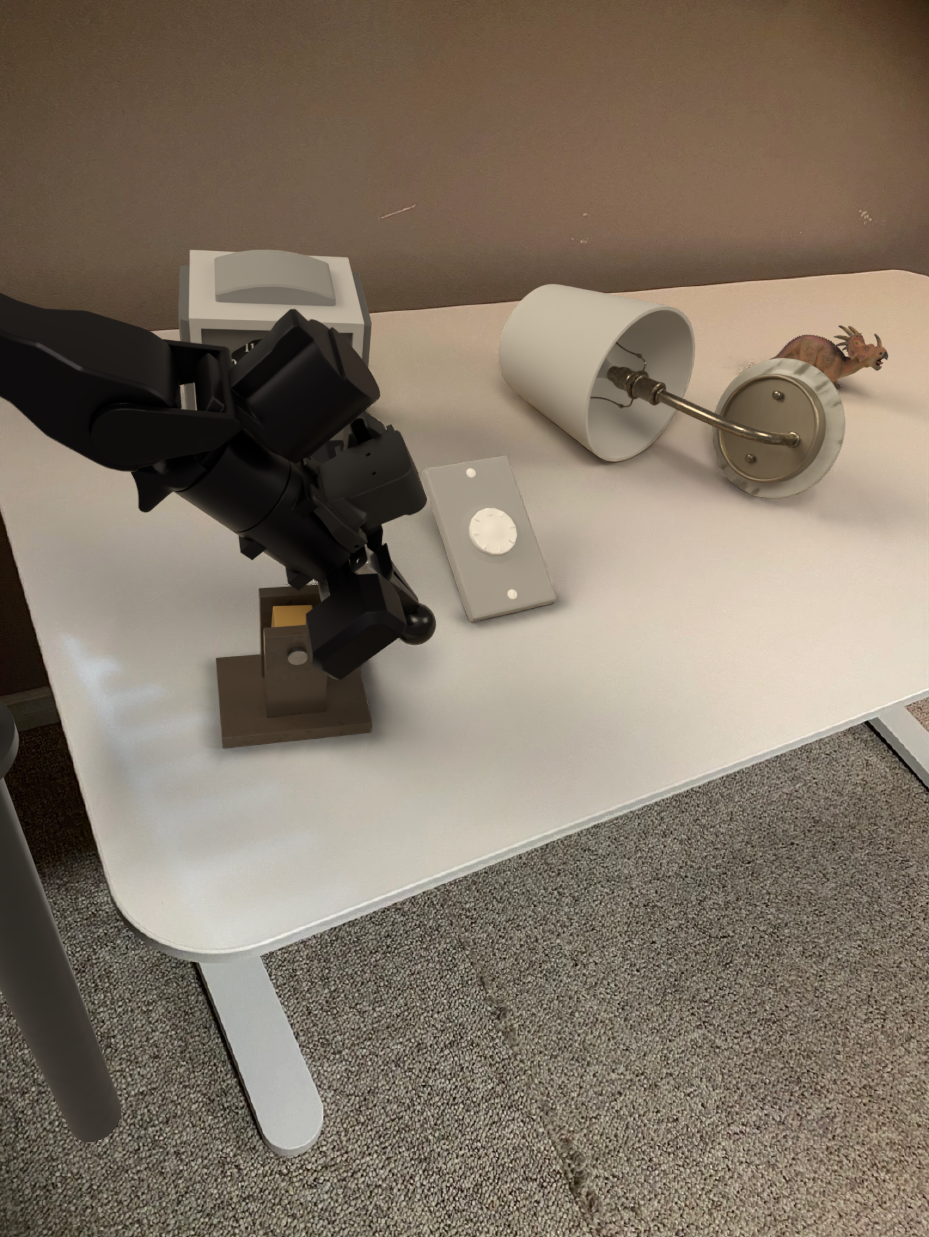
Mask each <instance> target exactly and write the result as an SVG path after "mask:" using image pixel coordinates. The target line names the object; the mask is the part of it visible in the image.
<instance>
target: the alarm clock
mask: <svg viewBox="0 0 929 1237" xmlns="http://www.w3.org/2000/svg"><path fill="white" fill-rule="evenodd" d="M178 274H179V276H178V305H177V308H178V311H177V320H178V331H179V341H183V342H192V343H200V344H208V345H216V346H224V347H227V348H229V349H230V351H231V357H232V364H234V365H235V364H236V363H237V362H238V361H239V360H240V359H241V358H243V357H244V356H245V355H246V354H247V353H248V352H249V351H250V350H251V349H252V348H254V347H255V346H256V345H257V344H258V343H259V342H260V341H261V340H262V339H263V338H264V337H266V336H267V334H268V333H269V332H270V331H271V329H272V328H273V326H274V325H275V323H276V322H277V321H278V320H279V319H280V318H281V317H282V316H283V315H284V314H285V313H287V312H288V311H289V310H290V309H296V310H297V311H298V312H299V313H300V314H301V315H303V316H304V317H305V318H306V319H307V320H310V319H314V320H317V321H319V322H321V323H323V324H324V325H325V326H327V327H328V328H329V329H330V328H331V327H333V328H334V329H335V330H336V331H338V332H339V333H340V334H341V335H342V336H343V337H344V338H345V339H346V341H347V342H348V343H349V344H350V345H351V346H352V347H353V348H354V350H355V351H356V352H357V353H358V355H359V356H360V357H361V358H362V360H363V361H364V363H365V364H366V365H367V367H368V368H369V367H370V366H369V365H370V354H371V352H370V351H371V338H372V337H371V336H372V324H373V322H372V319H371V315H370V311H369V308H368V303H367V300H366V295H365V291H364V288H363V284H362V279H361V276H360V272H352V268H351V264H350V260H349V257H345V256H344V257H343V256H325V255H324V256H323V255H306V254H301V253H299V252H298V253H297V252H294V251H288V250H287V251H286V250H278V249H249V250H243V251H223V250H222V251H221V250H220V251H219V250H201V249H189V264H187V265H186V264H179V272H178ZM181 405H182V409H187V410H197V408H196V396H195V384H194V383H190V384H185V385H183V393H181ZM343 434H344V429H342V430H341V431H340V432H339V433H338V434H336V435H335V436H334V437H333V438H332V439H330V440H343Z"/></svg>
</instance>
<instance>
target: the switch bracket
mask: <svg viewBox="0 0 929 1237" xmlns="http://www.w3.org/2000/svg"><path fill="white" fill-rule="evenodd" d="M257 592H258V621H259V622H258V626H259V628H258V630H259V631H258V632H259V653H257V654H245V655H233V656H222V657H221V656H220V657H215V668H216V681H217V694H218V706H219V718H220V719H219V720H220V731H221V732H220V733H221V744H222V749H230V748H239V747H249V746H258V745H259V746H260V745H267V744H275V743H285V742H287V743H288V742H295V741H304V740H313V739H323V738H333V737H341V736H342V737H343V736H351V735H359V734H360V735H361V734H368V733H369V734H370V733H372V727H373V720H372V716H371V711H370V706H369V703H368V699H367V694H366V688H365V685H364V684H365V683H364V679H363V676H362V670H361V666H360V667H358V668H357V669H355V670H354V671H353V672H351V673H350V674H349V675H347V676H346V677H344V678H343V679H342V680H336V679H332V678H330V677H329V676H327V675H325V674H324V673H322V672H320V671H319V670H317V669H315V668H313V667H312V663H311V657H310V652H309V646H308V640H307V634H306V628H305V625H295V626H282V627H271V624H272V611H273V606H297V605H312V608H314V607H315V606H317V605H318V604H319V603H320V602H321V598H320V592H319V587H318V583H316V584H307V585H306V586H304V587H303V588H302V589H300V590H299V591H298V590H297V589H295V588H294V587H292V586H291V585H285V586H271V587H258V590H257Z"/></svg>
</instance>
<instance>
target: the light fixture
mask: <svg viewBox="0 0 929 1237" xmlns="http://www.w3.org/2000/svg"><path fill="white" fill-rule="evenodd" d="M497 356H498V367H499V371H500V375H501V377H502V380H503V381H504V383H505V385H506V386H508V387H509V389H510V390H512V391H513V392H514V393H516V394H517V395H518V396H519V397H521V398H522V399H523V400H524V401H525V402H527V403H528V404H530V405H531V406H532V407H533V408H534V409H536V410H537V411H539V412H540V413H541V414H542V415H544V416H545V417H546V418H547V419H548V420H550V421H551V422H552V423H554V424H555V425H556V426H558V427H559V428H560V429H561V430H563V431H564V432H565V433H567V434H568V435H569V436H570V437H572V438H573V439H574V440H576V441H577V442H578V443H579V444H580V445H581V446H583V447H585V449H587V450H588V451H589V452H591V453H592V454H594V455H595V456H597V457H598V458H600V459H601V460H604V461H607V462H614V463H617V462H622V461H627V460H629V459H631V458H634V457H636V456H637V455H638V454H641V453H642V452H643V451H645V450H646V449H647V448H648V447H650V446H651V445H652V443H654V442H655V441H656V440H657V439H658V438H659V436H660V435H661V434H662V433H663V432H664V431H665V430H666V428H667V427H668V425H669V424H670V422H671V421H672V420H673V418H674V417H675V415H676V414H677V411H678V412H681V413H683V414H685V415H688V416H690V417H691V418H693V419H696V420H698V421H700V422H702V423H704V424H707V425H709V426H711V441H712V442H711V443H712V447H713V448H712V449H713V452H714V455H715V458H716V461H717V463H718V465H719V467H720V469H721V470H722V472H723V474H724V475H725V476H726V477H727V479H728V480H729V481H730V482H731V483H732V484H733V485H735V486H736V487H737V488H739V489H740V490H741V491H743V492H745V493H746V494H750V495H751V496H754V497H758V498H764V499H770V500H771V499H772V500H773V499H774V500H775V499H785V498H790V497H793V496H796V495H800V494H802V493H804V492H806V491H808V490H809V489H811V488H813V487H814V486H815V485H816V484H818V483H819V482H820V481H821V480H823V478H824V477H825V476H826V475H827V474H828V473H829V471H830V470H831V469H832V468H833V466H834V465H835V463H836V461H837V459H838V457H839V455H840V451H841V450H842V447H843V444H844V439H845V435H846V413H845V408H844V403H843V400H842V398H841V396H840V392H839V391H838V388H836V387H835V386H834V384H833V383H832V382H831V380H830V379H829V378H828V377H827V376H826V375H825V374H824V373H823V372H821V371H820V370H819V369H817V368H816V367H814V366H812V365H810V364H808V363H806V362H803V361H800V360H796V359H789V358H776V359H771V358H769V359H770V360H769V359H765V360H761V361H760V362H757V363H755V364H753V365H751V366H749V367H748V368H746V369H744V370H743V371H742V372H740V373H739V374H738V375H737V376H736V377H734V379H733V380H732V381H731V382H730V383H729V385H727V387H726V388H725V389H724V391H723V393H722V394H721V396H720V398H719V400H718V403H717V405H716V408H715V410H714V411H711V410H709V409H707V408H705V407H703V406H701V405H698V404H696V403H694V402H692V401H689V400H687V399H685V398H684V397H685V395H686V393H687V390H688V388H689V384H690V381H691V379H692V374H693V370H694V365H695V357H696V338H695V332H694V328H693V325H692V322H691V321H690V319H689V317H688V316H687V315H686V313H685V312H684V311H683V310H681V309H679V308H678V307H675V306H672V305H669V304H663V303H658V302H654V301H648V300H642V299H638V298H632V297H627V296H622V295H616V294H611V293H605V292H600V291H596V290H590V289H585V288H580V287H575V286H569V285H564V284H557V283H548V284H544V285H541V286H539V287H536V288H535V289H533V290H532V291H530V292H528V293H527V294H526V295H525V296H524V297H523V298H522V299H521V300H520V301H519V302H518V304H517V305H516V306H515V307H514V309H513V310H512V312H511V313H510V315H509V316H508V318H507V320H506V322H505V324H504V327H503V330H502V332H501V336H500V339H499V345H498V354H497Z"/></svg>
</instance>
